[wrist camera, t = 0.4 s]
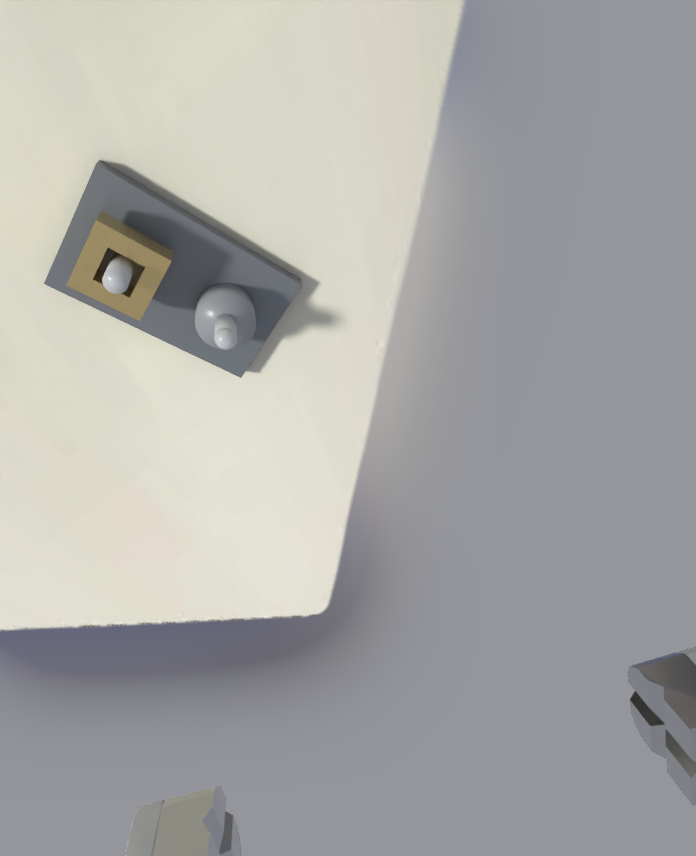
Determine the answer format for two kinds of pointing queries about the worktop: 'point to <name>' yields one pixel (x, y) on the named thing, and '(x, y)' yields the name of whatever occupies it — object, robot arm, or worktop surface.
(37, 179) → the worktop surface
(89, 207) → the mount board
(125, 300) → the tan square ring
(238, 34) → the worktop surface
